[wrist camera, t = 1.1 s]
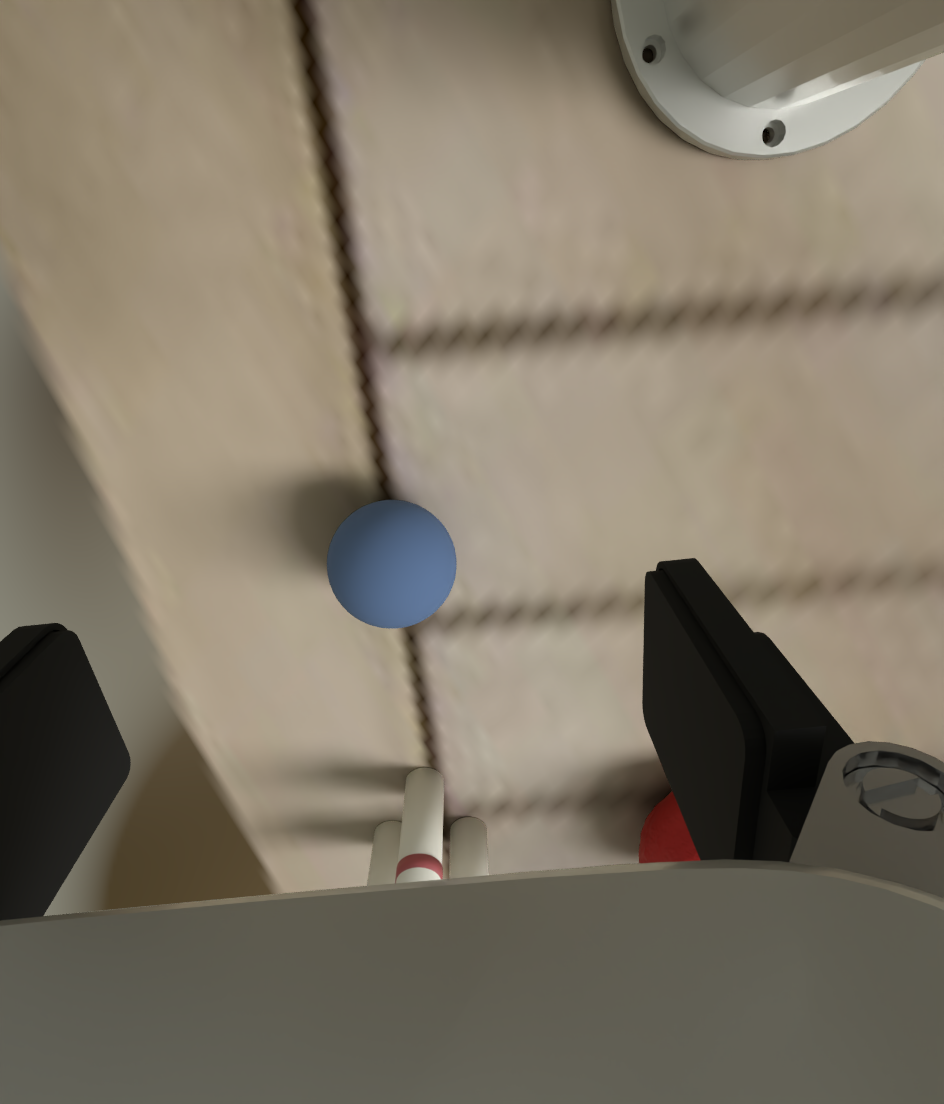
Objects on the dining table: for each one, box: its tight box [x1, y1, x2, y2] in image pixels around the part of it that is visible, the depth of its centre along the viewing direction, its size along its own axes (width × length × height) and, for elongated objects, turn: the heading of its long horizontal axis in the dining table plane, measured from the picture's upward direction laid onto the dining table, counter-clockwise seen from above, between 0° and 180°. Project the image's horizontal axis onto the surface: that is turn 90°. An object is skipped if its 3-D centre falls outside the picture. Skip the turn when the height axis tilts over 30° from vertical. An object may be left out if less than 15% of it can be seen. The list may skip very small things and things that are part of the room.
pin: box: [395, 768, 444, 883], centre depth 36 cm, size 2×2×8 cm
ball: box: [327, 500, 456, 628], centre depth 30 cm, size 6×6×6 cm
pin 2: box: [450, 817, 489, 879], centre depth 38 cm, size 2×2×8 cm
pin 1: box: [367, 821, 402, 886], centre depth 38 cm, size 2×2×8 cm
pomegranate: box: [639, 791, 700, 863], centre depth 38 cm, size 10×10×9 cm
